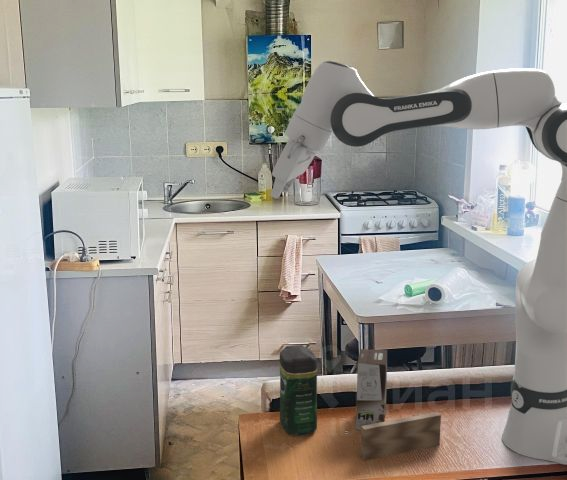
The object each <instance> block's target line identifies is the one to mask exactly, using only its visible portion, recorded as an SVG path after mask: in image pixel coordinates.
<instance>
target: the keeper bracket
mask: <svg viewBox="0 0 567 480" xmlns="http://www.w3.org/2000/svg"><path fill="white" fill-rule="evenodd" d="M441 425H442V415H441V413H439V412H438V411H436V412H431V413H425V414H420V413H418V414H413V415H412V416H408V417H404V418H398V419H393V420H388V421H386V420H385V422H380V423H375V424H368V423H367V424H362V425H361V430H360V458H361V459H362V460H363V461H367V460H372V459H377V458H381V457H382V458H384V457H389V456H392V455H397V454H402V453H407V452H411V451H417V450H421V449H427V448H431V447H437V446H440V444H441Z"/></svg>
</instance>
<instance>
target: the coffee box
mask: <svg viewBox="0 0 567 480" xmlns="http://www.w3.org/2000/svg"><path fill="white" fill-rule="evenodd" d="M356 371H357V375H356V377H357V378H356V411H355V412H356V417H355V419H356V420H355V422H356V423H355V425H356V426H355V430H358V431H359V430H360V431H361V425H362V424H367V423H368V424H375V423H380V422H386V413H387V410H386V409H387V384H388V382H387V381H388V380H387V379H388V378H387V377H388V350H387V349H365V348H360V350H359V354H358V358H357V370H356Z"/></svg>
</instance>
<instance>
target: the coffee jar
mask: <svg viewBox="0 0 567 480" xmlns="http://www.w3.org/2000/svg"><path fill="white" fill-rule="evenodd" d="M279 380H280V381H279V386H280V387H279V396H280V397H279V420H280V421H279V423H280V425H281V428H282V429H283V431H284V432H286V434H288V435H292V436H298V437H299V436H307V435H309V434H312V433H314V432H316V431H317V429H318V408H317V407H318V390H317V389H318V386H317V385H318V358H317V356H316V355H315V353H313V351H312V350H311V349H309V348H307V347H305V346H304V345H301V344H298V345H295V344H294V345H287V346H285V347H284V348H283V349H282V350H280V353H279Z"/></svg>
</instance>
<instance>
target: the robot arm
mask: <svg viewBox="0 0 567 480" xmlns="http://www.w3.org/2000/svg"><path fill="white" fill-rule="evenodd" d="M511 126H512V127H513V126H515V127H516V126H518V127H519V126H521V127H525V129H526V131H527V134H528V137H529V138H530V142H531V144H532V145H533V147H534V148H535V150H537V151H538V152H539V153H541V154H542V155H543V156H544V157H546V158H548V159H549V160H552V161H556V162H558V163H559V164H560V165H561V169H562V170H561V171H562V173H561V182H560V184H559V186H558V188H557V191H556V193H555V196H554V198H553V201H552V202H551V206H550V208H549V211H548V214H547V217H546V219H545V221H544V225H543V227H542V230H541V232H540V240H539V245H538V246H539V247H538V251H537V256H536V259H533V260H530V261H528V262H526V263H525V264H524V265H522V266H521V267H520V269H519V271H518V273H517V275H516V279H515V339H516V340H515V341H516V342H515V355H514V357H515V358H514V359H515V361H514V371H513V376H512V377H511V382H510V383H511V384H510V407H509V411H508V416H507V420H506V423H505V427H504V430H503V432H502V434H501V440H502V442H503V444H504V445H505V446H506V447H508V448H509V449H510V450H511V451H513V452H515V453H517V454H520V455H522V456H525V457H529V458H533V459H537V460H538V459H539V460H545V461H550V462H553V463H557V464H560V465H566V466H567V103H565V102H561V101H559V100H558V98H557V96H556V89H555V84H554V81H553V80H552V77H550V75H549V74H548V73H547V72H546V71H544V70H542V69H538V68H507V69H498V70H491V71H485V72H480V73H475V74H471V75H468V76H466V77H462V78H459V79H456V80H455V81H453V82H451V83H449V84H447V85H445V86H443V87H441V88H437V89H436V90H432V91H429V92H424V93H417V94H410V95H402V96H397V97H385V98H384V97H376V96H375V94H373V93H372V92H371V91H370V90H369V88H368V87H367V86H366V85H365V83H364V82H363V81H362V78H361V77H360V76H359V73H358V70H357V69H355V68H354V67H353V66H351V65H347V64H344V63H341V62H337V61H331V60H328V61H324V62H321V63H320V64H319V65H318V66H317V67H316V69H314V71H313V74H312V75H311V76H310V78H309V80H308V82H307V85H306V87H305V88H304V91H303V92H302V97H301V101H300V103H299V106H298V107H297V108H296V109H295V110H294V112H293V113H292V116H291V118H290V121H289V123H288V125H287V127H286V129H285V131H284V135H285V136H286V137H288V139H287V142H286V144H285V146H284V148H283V149H282V152H281V153H280V156H279V157H278V160H277V161H276V164H275V165H274V167H273V169H272V172H271V175H272V177H274V183H273V187H272V189H271V191H270V193H269V194H270V195H269V196H270V197H272V198H274V199H279V198H280V196H281V194H282V192H283V193H284V194H287V193H288V192H289V190H291V188H292V185H293V184H294V182H295V181H296V180H297V177H299V176H301V175H304V173H305V172H306V171H307V170H308V168H309V167H310V164H312V161H313V160H314V158H315V157H316V154H317V153H318V152H321V153H322V152H323V151H324V149H325V147H326V145H327V143H328V140H329V139H330V138H331V137H330V136H331V135H332V133H333V134H334V136H335V138H337V140H339V141H340V143H343V144H345V145H347V146H349V147H356V148H357V147H364V146H367V145H370V144H371V143H373V142H374V141H375V140H377V139H378V138H380V137H383V136H384V135H386V134H389V133H394V132H398V131H407V130H412V129H413V130H414V129H419V128H425V127H426V128H427V127H449V128H454V129H460V130H461V129H462V130H489V129H496V128H497V129H498V128H503V127H511Z"/></svg>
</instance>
